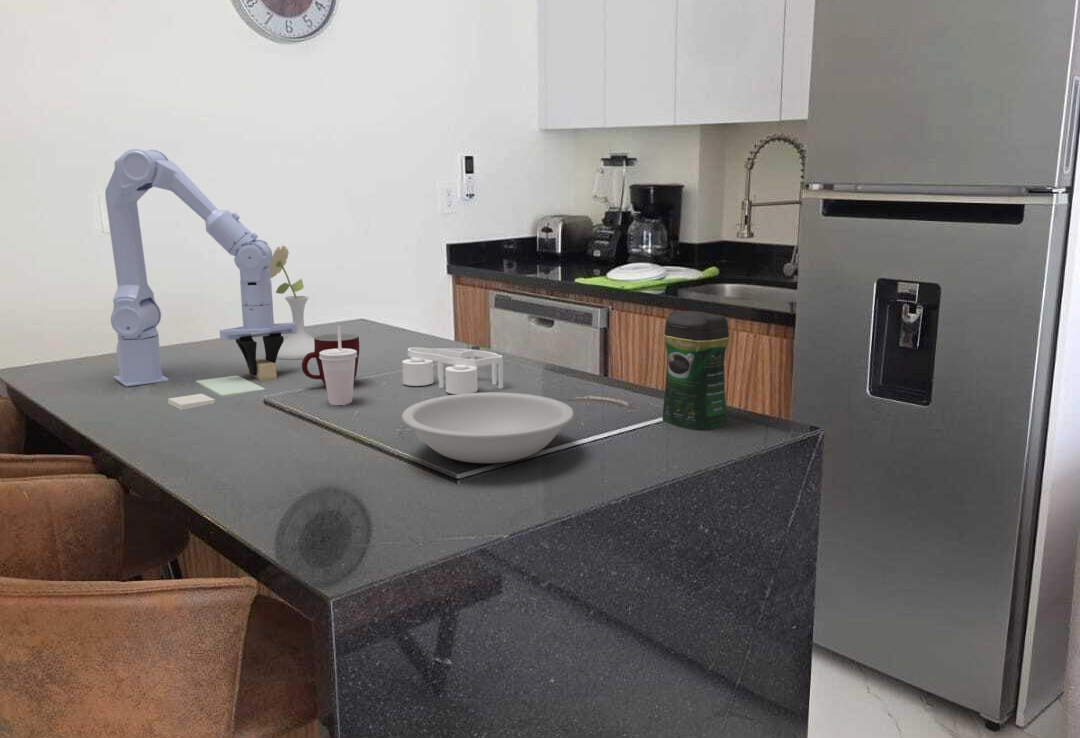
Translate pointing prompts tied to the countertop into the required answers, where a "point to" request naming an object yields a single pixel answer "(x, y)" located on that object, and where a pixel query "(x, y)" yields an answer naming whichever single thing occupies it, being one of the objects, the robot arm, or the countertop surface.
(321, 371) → the mug
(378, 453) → the countertop surface
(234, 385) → the mat
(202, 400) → the tile
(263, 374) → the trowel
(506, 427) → the soup bowl
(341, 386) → the smoothie
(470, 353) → the white rack with cylinders
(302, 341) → the flower in vase
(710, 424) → the coffee jar
